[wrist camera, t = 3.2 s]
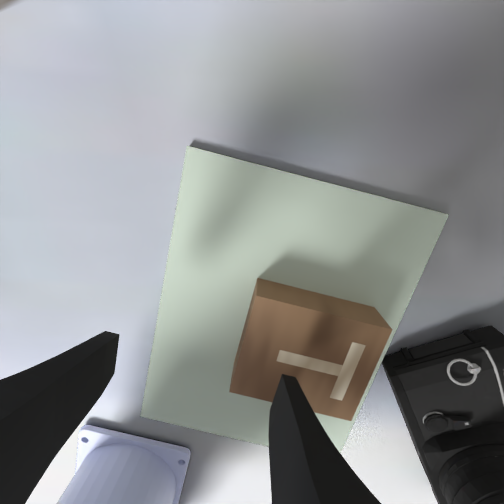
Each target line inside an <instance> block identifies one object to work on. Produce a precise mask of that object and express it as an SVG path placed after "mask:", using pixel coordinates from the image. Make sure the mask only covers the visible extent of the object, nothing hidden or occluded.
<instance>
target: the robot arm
mask: <svg viewBox="0 0 504 504" xmlns="http://www.w3.org/2000/svg"><path fill="white" fill-rule="evenodd" d="M118 341H119V334H115V333H111V332H107V331H105V332H103V333H101V334H99V335H97V336H95V337H93V338H91V339H89V340H87V341H85V342H83V343H81V344H79V345H77V346H75V347H73V348H72V349H70V350H68V351H66V352H64V353H62V354H60V355H58V356H55V357H53V358H51V359H49V360H47V361H45V362H42V363H40V364H38V365H36V366H34V367H31V368H29V369H27V370H24V371H22V372H20V373H17V374H15V375H12V376H9V377H7V378H4V379H1V380H0V504H25V503H26V501H27V499H28V498H29V496H30V495H31V493H32V491H33V490H34V488H35V487H36V485H37V483H38V482H39V480H40V479H41V477H42V476H43V474H44V473H45V471H46V469H47V468H48V466H49V465H50V463H51V462H52V460H53V459H54V457H55V456H56V455H57V453H58V452H59V450H60V449H61V448H62V446H63V445H64V444H65V442H66V441H67V440H68V439H69V437H70V436H71V435H72V433H73V432H74V431H75V429H76V428H77V427H78V425H79V424H80V423H81V422H82V420H83V419H84V418H85V416H86V415H87V414H88V412H89V411H90V410H91V408H92V407H93V406H94V404H95V403H96V402H97V400H98V399H99V398H100V396H101V395H102V393H103V392H104V390H105V388H106V387H107V385H108V383H109V382H110V380H111V378H112V376H113V375H114V372H115V364H116V356H117V348H118ZM268 438H269V457H270V474H271V491H272V504H381V503H380V502H379V501H378V500H377V499H376V497H375V496H374V495H373V494H372V493H371V492H370V491H369V489H368V488H367V487H366V486H365V485H364V483H363V482H362V481H361V480H360V479H359V477H358V476H357V475H356V474H355V472H354V471H353V470H352V469H351V467H350V466H349V465H348V463H347V462H346V461H345V459H344V458H343V457H342V455H341V454H340V453H339V451H338V450H337V448H336V447H335V445H334V444H333V442H332V441H331V439H330V438H329V436H328V435H327V433H326V432H325V430H324V428H323V427H322V425H321V423H320V421H319V420H318V418H317V416H316V414H315V413H314V411H313V409H312V407H311V405H310V404H309V402H308V400H307V398H306V396H305V394H304V392H303V390H302V388H301V386H300V384H299V382H298V380H297V379H296V377H293V376H289V375H285V374H282V375H281V378H280V381H279V384H278V387H277V390H276V393H275V396H274V399H273V402H272V405H271V408H270V414H269V433H268ZM190 455H191V452H190V450H189V449H188V448H186V447H182V446H177V445H173V444H169V443H165V442H160V441H156V440H152V439H147V438H143V437H139V436H134V435H130V434H126V433H122V432H117V431H113V430H109V429H104V428H100V427H96V426H92V425H84V426H83V427H82V428H81V429H80V431H79V436H78V447H77V458H76V468H75V475H74V477H73V478H72V480H71V481H70V483H69V485H68V486H67V488H66V489H65V491H64V493H63V494H62V496H61V497H60V499H59V501H58V502H57V504H178V503H179V499H180V495H181V491H182V487H183V483H184V479H185V475H186V471H187V467H188V463H189V459H190Z"/></svg>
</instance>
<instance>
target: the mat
mask: <svg viewBox="0 0 504 504" xmlns="http://www.w3.org/2000/svg"><path fill="white" fill-rule="evenodd" d="M448 216H449V214H445V213H441V212H437V211H433V210H430V209H426V208H422V207H418V206H414V205H411V204H407V203H403V202H399V201H395V200H392V199H388V198H384V197H380V196H376V195H373V194H369V193H365V192H361V191H357V190H354V189H350V188H346V187H342V186H338V185H335V184H331V183H327V182H323V181H319V180H315V179H312V178H308V177H304V176H300V175H296V174H293V173H289V172H285V171H281V170H277V169H274V168H270V167H266V166H262V165H258V164H255V163H251V162H247V161H243V160H239V159H236V158H232V157H228V156H224V155H220V154H217V153H213V152H209V151H205V150H201V149H198V148H194V147H190V146H187V148H186V154H185V159H184V165H183V171H182V177H181V183H180V188H179V194H178V200H177V206H176V212H175V217H174V223H173V229H172V235H171V241H170V246H169V252H168V258H167V264H166V270H165V275H164V281H163V287H162V293H161V299H160V304H159V310H158V316H157V322H156V328H155V333H154V339H153V345H152V351H151V357H150V362H149V368H148V374H147V380H146V386H145V391H144V397H143V403H142V409H141V415H140V417H144V418H148V419H152V420H156V421H161V422H165V423H169V424H173V425H178V426H182V427H186V428H190V429H195V430H199V431H203V432H208V433H212V434H216V435H220V436H225V437H229V438H233V439H237V440H242V441H246V442H250V443H254V444H259V445H263V446H267V447H269V438H268V433H269V414H270V408H271V405H272V402H269V401H264V400H260V399H256V398H252V397H248V396H243V395H239V394H235V393H231V392H229V390H230V384H231V377H232V371H233V365H234V361H235V357H236V353H237V350H238V346H239V343H240V339H241V335H242V332H243V328H244V324H245V321H246V317H247V314H248V310H249V306H250V303H251V299H252V295H253V292H254V288H255V285H256V281H257V278H261V279H265V280H269V281H273V282H277V283H281V284H285V285H289V286H293V287H297V288H300V289H304V290H308V291H312V292H316V293H320V294H324V295H328V296H332V297H336V298H340V299H344V300H348V301H352V302H356V303H360V304H364V305H368V306H372V307H375V308H376V310H377V311H378V312H379V313H380V315H381V316H382V317H383V318H384V320H385V321H386V322H387V323H388V325H389V326H390V327H391V328H392V332H391V334H390V336H389V339H388V341H387V343H386V345H385V348H384V350H383V352H382V354H381V356H380V359H379V361H378V363H377V365H376V367H375V370H374V372H373V374H372V376H371V378H370V381H369V383H368V385H367V387H366V390H365V392H364V394H363V396H362V398H361V401H360V403H359V405H358V407H357V409H356V412H355V414H354V416H353V418H352V421H348V420H344V419H340V418H335V417H331V416H327V415H323V414H319V413H315V412H314V413H315V414H316V416H317V418H318V420H319V421H320V423H321V425H322V427H323V428H324V430H325V432H326V433H327V435H328V436H329V438H330V439H331V441H332V442H333V444H334V445H335V447H336V448H337V450H338V451H339V453H341V450H342V448H343V446H344V444H345V442H346V439H347V437H348V435H349V433H350V431H351V428H352V426H353V424H354V422H355V420H356V418H357V415H358V413H359V411H360V409H361V407H362V404H363V402H364V400H365V398H366V396H367V393H368V391H369V389H370V387H371V385H372V382H373V380H374V378H375V376H376V374H377V372H378V369H379V367H380V365H381V363H382V361H383V358H384V356H385V354H386V352H387V350H388V347H389V345H390V343H391V341H392V339H393V337H394V334H395V332H396V330H397V328H398V326H399V323H400V321H401V319H402V317H403V315H404V312H405V310H406V308H407V306H408V304H409V302H410V299H411V297H412V295H413V293H414V291H415V288H416V286H417V284H418V282H419V280H420V277H421V275H422V273H423V271H424V269H425V266H426V264H427V262H428V260H429V258H430V256H431V253H432V251H433V249H434V247H435V245H436V242H437V240H438V238H439V236H440V234H441V231H442V229H443V227H444V225H445V223H446V221H447V218H448Z"/></svg>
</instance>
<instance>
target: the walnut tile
mask: <svg viewBox="0 0 504 504" xmlns="http://www.w3.org/2000/svg"><path fill="white" fill-rule="evenodd" d="M391 332H392V328H391V327H390V326H389V325H388V323H387V322H386V321H385V320H384V318H383V317H382V316H381V315H380V313H379V312H378V311H377V310H376V308H375V307H372V306H368V305H364V304H360V303H356V302H352V301H348V300H344V299H340V298H336V297H332V296H328V295H324V294H320V293H316V292H312V291H308V290H304V289H300V288H297V287H293V286H289V285H285V284H281V283H277V282H273V281H269V280H265V279H261V278H257V281H256V285H255V288H254V292H253V295H252V299H251V303H250V306H249V310H248V314H247V317H246V321H245V324H244V328H243V332H242V335H241V339H240V343H239V346H238V350H237V353H236V357H235V361H234V365H233V371H232V377H231V384H230V390H229V392H231V393H235V394H239V395H243V396H248V397H252V398H256V399H260V400H264V401H269V402H273V399H274V396H275V393H276V390H277V387H278V384H279V381H280V378H281V375H282V374H285V375H289V376H293V377H296V379H297V380H298V382H299V384H300V386H301V388H302V390H303V392H304V394H305V396H306V398H307V400H308V402H309V404H310V405H311V407H312V409H313V411H314V412H315V413H319V414H323V415H327V416H331V417H335V418H340V419H344V420H348V421H352V418H353V416H354V414H355V412H356V409H357V407H358V405H359V403H360V401H361V398H362V396H363V394H364V392H365V390H366V387H367V385H368V383H369V381H370V378H371V376H372V374H373V372H374V370H375V367H376V365H377V363H378V361H379V359H380V356H381V354H382V352H383V350H384V348H385V345H386V343H387V341H388V339H389V336H390V334H391Z"/></svg>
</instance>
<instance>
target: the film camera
mask: <svg viewBox="0 0 504 504" xmlns="http://www.w3.org/2000/svg"><path fill="white" fill-rule="evenodd" d="M382 365H383V367H384V370H385V372H386V375H387V377H388V380H389V382H390V385H391V387H392V390H393V393H394V395H395V398H396V400H397V403H398V405H399V408H400V410H401V413H402V415H403V418H404V420H405V423H406V426H407V428H408V431H409V433H410V436H411V438H412V441H413V444H414V446H415V449H416V451H417V454H418V456H419V459H420V461H421V463H422V466H423V468H424V470H425V472H426V475H427V477H428V479H429V482H430V484H431V487H432V491H433V493H434V495H435V498H436V500H437V502H438V504H504V335H503V334H502V333H500V332H499V331H498V330H497V329H495V328H494V327H493V326H487V327H484V328H480V329H477V330H473V331H470V330H465V331H463V334H460V335H456V336H453V337H449V338H446V339H443V340H439V341H436V342H432V343H429V344H425V345H422V346H418V347H415V348H412V349H407V348H402V349H401V352H398V353H394V354H391V355H387V356H384V358H383V361H382Z"/></svg>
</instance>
